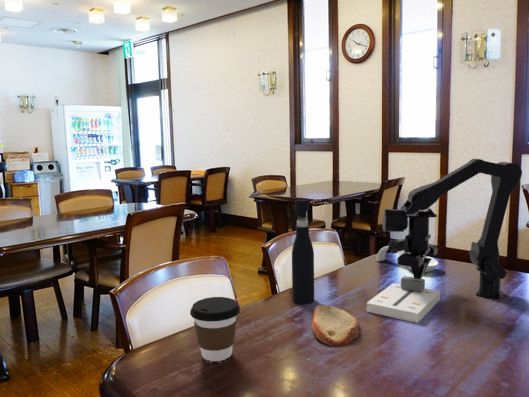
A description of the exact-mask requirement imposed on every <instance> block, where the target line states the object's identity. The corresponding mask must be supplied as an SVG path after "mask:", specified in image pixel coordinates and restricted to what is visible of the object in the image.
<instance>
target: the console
mask: <svg viewBox="0 0 529 397" xmlns="http://www.w3.org/2000/svg"><path fill="white" fill-rule="evenodd" d="M440 300H441V291H440V290H435V289H430V288H429V289H428V288H425V289H424V290H423V291H422V292H417V291H412V290H406V289H401V283H400V284H399V283H395V282H393V283H391V284H390V285H389V286H387V287H386V288H384V289H383V290H382V291H381V292H379V293H378V294H377V295H375V296H373V297H372V298H371V299H370V300H368V301H367V302H366V310H365V311H366V312H367V313H370V314H375V315H376V314H377V315H381V316H385V317H390V318H394V319H398V320H403V321H407V322H411V323H417V324H418V323H419V322H420V321H421V320H423V318H424V317H425V316H426V315H427V314H428V313H429V312H430V311H431V310H432V309H433V308H434V306H436V304H437V303H438V302H439V301H440Z"/></svg>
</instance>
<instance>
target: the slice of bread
mask: <svg viewBox="0 0 529 397" xmlns="http://www.w3.org/2000/svg"><path fill="white" fill-rule="evenodd" d="M311 331H312V332H313V334H314V336H315V337H316V338H317V339H318V340H319V341H320V342H322V344H325V345H327V346H330V347H334V348H336V347H338V348H339V347H343V346H348V345H349V344H350V343H351V342H352V341H353V340H356V339H357V337H358V336H359V334H360V331H359V321H358V319H357V318H356V317H355V316H353V315H351V314H350V313H349V311H348V312H347V311H345V310H344V309H341V308H338V307H335V306H330V305H325V304H318V305H316V307H315V308H314V310H313V314H312V323H311Z"/></svg>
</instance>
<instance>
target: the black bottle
mask: <svg viewBox="0 0 529 397" xmlns="http://www.w3.org/2000/svg"><path fill="white" fill-rule="evenodd" d="M294 205H295V206H294V207H295V212H296V213H297V220H296V225H295V238H294V242H293V244H292V250H291V287H292V292H291V294H292V296H291V297H292V302H293V303H295V304H299V305H311V304H312V303H314V302H315V252H314V247H313V242H312V240H311V236H310V225H309V221H308V215H307V214H308V212H310V200H309V199H306V198H298V199H295V204H294Z"/></svg>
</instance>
